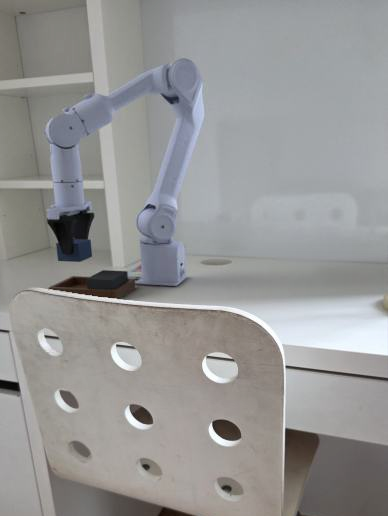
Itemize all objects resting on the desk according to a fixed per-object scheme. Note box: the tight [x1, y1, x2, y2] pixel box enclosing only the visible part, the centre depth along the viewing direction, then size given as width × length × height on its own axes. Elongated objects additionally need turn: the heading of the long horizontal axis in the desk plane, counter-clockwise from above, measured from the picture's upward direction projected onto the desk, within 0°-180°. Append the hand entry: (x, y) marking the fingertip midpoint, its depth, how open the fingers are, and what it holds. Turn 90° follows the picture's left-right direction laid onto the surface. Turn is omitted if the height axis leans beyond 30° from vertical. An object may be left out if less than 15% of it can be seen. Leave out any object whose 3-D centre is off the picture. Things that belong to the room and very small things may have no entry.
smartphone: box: [127, 264, 142, 280], centre depth 125 cm, size 7×1×15 cm
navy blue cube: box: [55, 238, 93, 263], centre depth 108 cm, size 5×5×4 cm
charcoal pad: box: [86, 269, 128, 290], centre depth 107 cm, size 6×8×3 cm
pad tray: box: [48, 275, 136, 300], centre depth 108 cm, size 15×10×2 cm
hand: (74, 251), depth 108 cm, fingers closed on navy blue cube, 5 cm apart
